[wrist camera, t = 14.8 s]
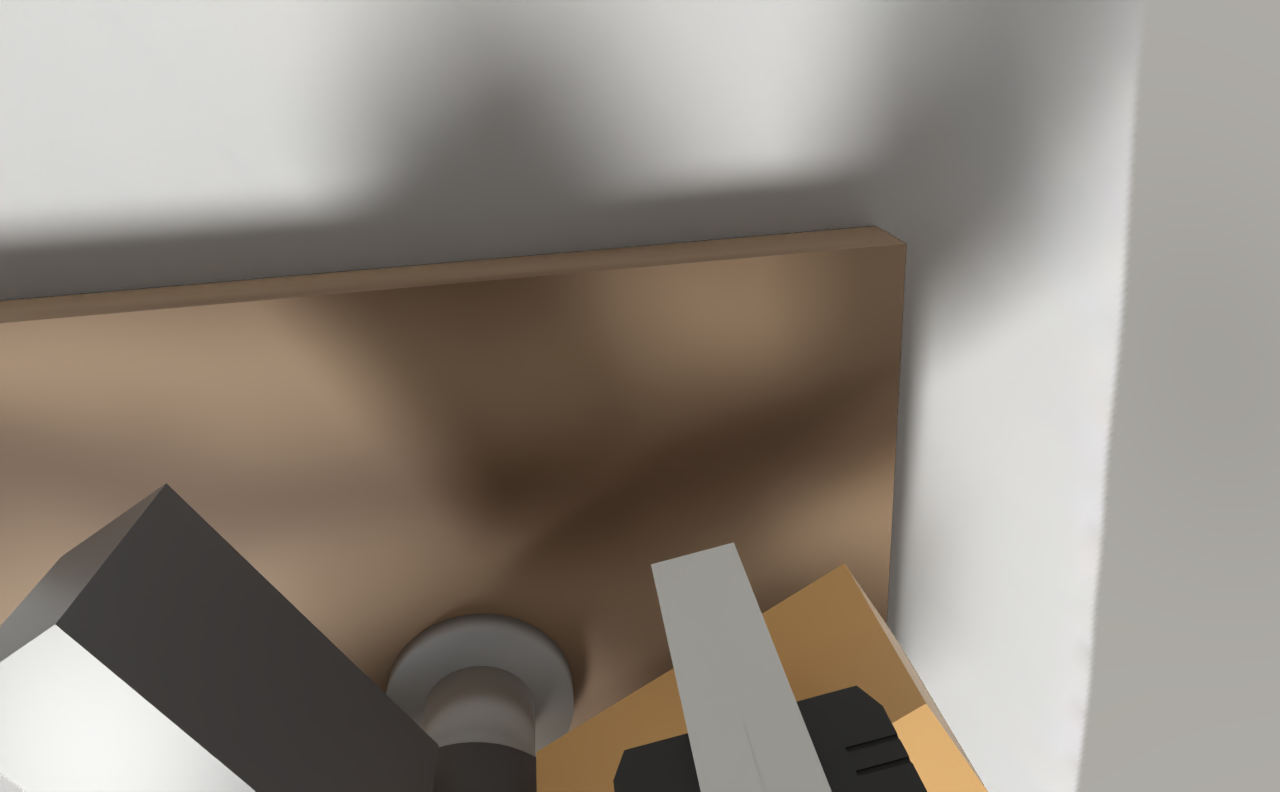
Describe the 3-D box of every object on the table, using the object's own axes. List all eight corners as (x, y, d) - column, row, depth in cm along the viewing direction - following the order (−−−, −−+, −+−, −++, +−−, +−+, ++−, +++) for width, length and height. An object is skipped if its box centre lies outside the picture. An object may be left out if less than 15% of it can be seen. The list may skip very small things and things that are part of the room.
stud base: (-60, 305, 21) (-272, 407, 15) (875, 226, 23) (987, 291, 17) (183, 964, 29) (102, 1182, 24) (850, 868, 31) (920, 1051, 26)
